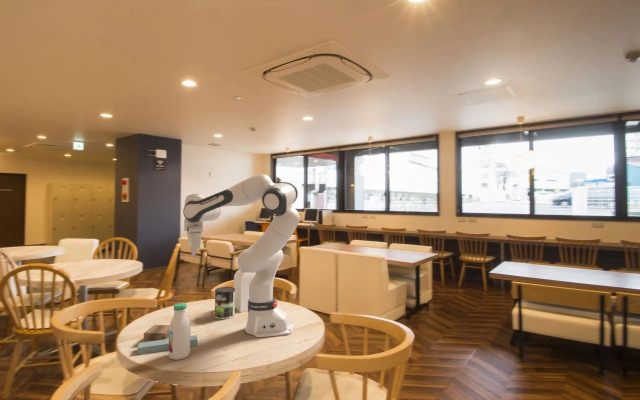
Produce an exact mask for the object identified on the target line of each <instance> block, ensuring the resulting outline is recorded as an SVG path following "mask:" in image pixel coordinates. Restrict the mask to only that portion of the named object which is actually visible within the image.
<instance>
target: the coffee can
mask: <svg viewBox="0 0 640 400" xmlns="http://www.w3.org/2000/svg"><path fill="white" fill-rule="evenodd" d="M233 287H234V286H233ZM233 287H232V286H220V287H217V288H215V289H214V318H216V319H217V320H227V319H230V318H231V319H232V318H233V317H235V288H233Z"/></svg>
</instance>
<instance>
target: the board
mask: <svg viewBox="0 0 640 400" xmlns="http://www.w3.org/2000/svg"><path fill="white" fill-rule="evenodd" d="M197 346H198V335H197V334H195V335H190V348H193V347H197ZM136 348H137V352H136V353H137V354H136V355H143V354H150V353H157V352H164V351H169V339H164V340H157V341H149V342H144V341H143V342H139V343H138V346H137V347H136Z"/></svg>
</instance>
